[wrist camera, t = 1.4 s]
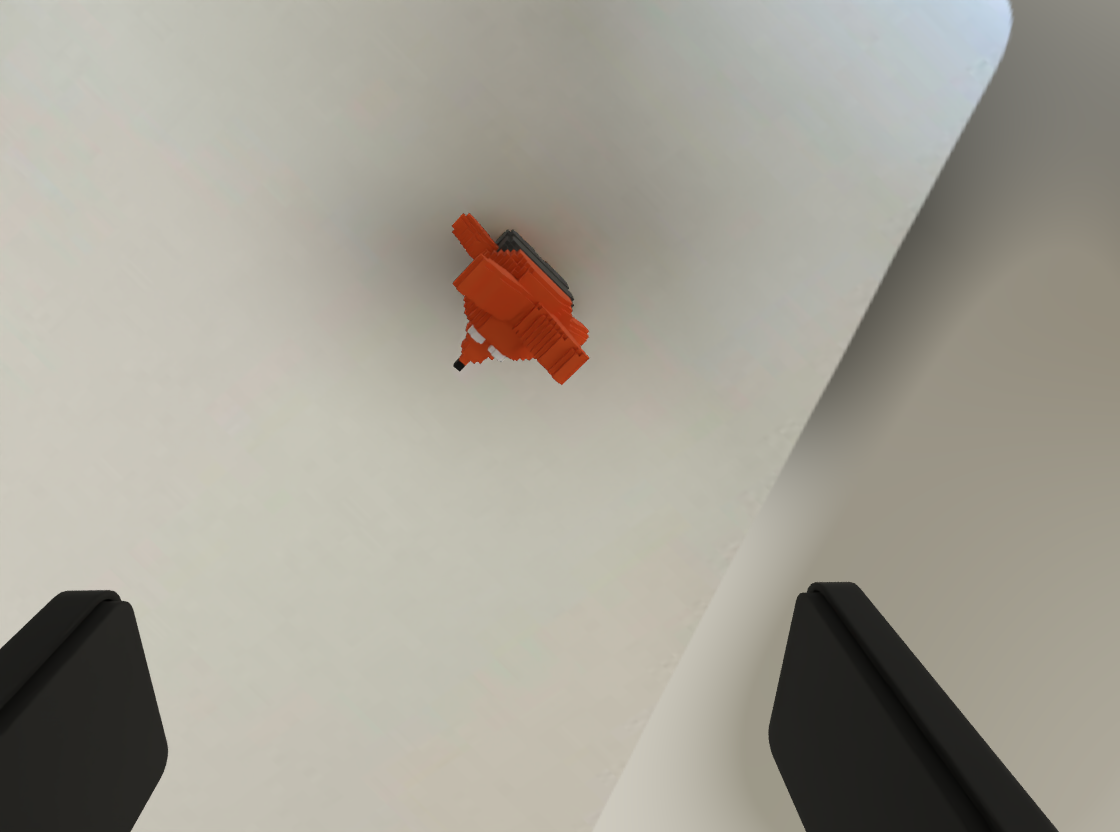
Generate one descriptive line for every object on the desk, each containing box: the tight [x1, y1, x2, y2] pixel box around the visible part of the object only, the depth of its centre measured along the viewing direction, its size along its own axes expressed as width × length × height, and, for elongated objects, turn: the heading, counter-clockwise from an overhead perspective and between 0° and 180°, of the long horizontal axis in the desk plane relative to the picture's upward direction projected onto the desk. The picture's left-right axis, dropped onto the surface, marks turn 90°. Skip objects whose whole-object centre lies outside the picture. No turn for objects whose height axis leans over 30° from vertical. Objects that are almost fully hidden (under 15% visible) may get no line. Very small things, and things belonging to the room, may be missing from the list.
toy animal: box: [452, 213, 589, 385], centre depth 29 cm, size 8×6×12 cm
